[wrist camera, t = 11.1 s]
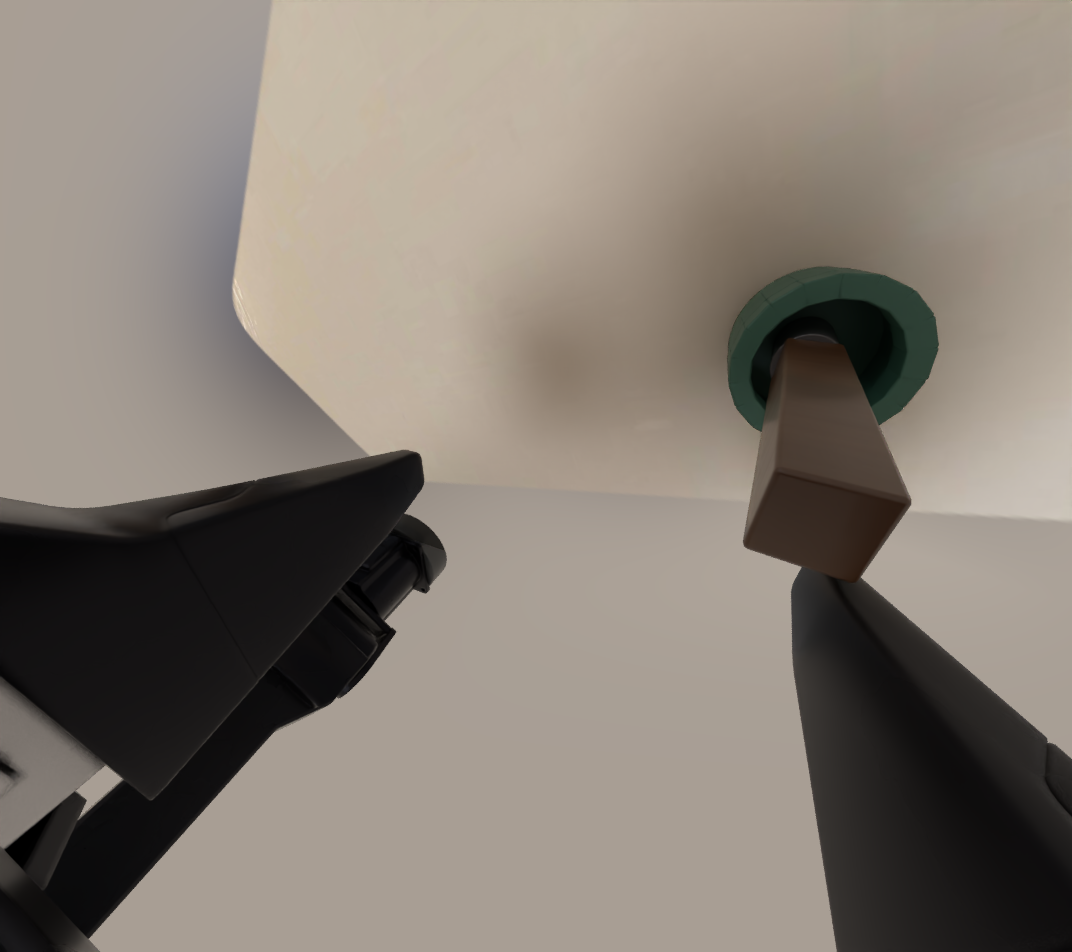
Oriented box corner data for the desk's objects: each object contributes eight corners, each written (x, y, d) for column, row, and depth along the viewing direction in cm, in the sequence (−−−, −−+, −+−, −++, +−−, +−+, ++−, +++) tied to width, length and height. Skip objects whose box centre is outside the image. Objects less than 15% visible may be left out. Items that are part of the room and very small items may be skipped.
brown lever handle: (822, 372, 15) (867, 602, 6) (766, 364, 16) (724, 553, 7) (845, 319, 14) (947, 494, 5) (784, 313, 15) (764, 451, 5)
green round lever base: (848, 412, 16) (882, 458, 13) (712, 392, 18) (709, 428, 15) (918, 270, 14) (987, 279, 10) (749, 263, 15) (757, 268, 12)
